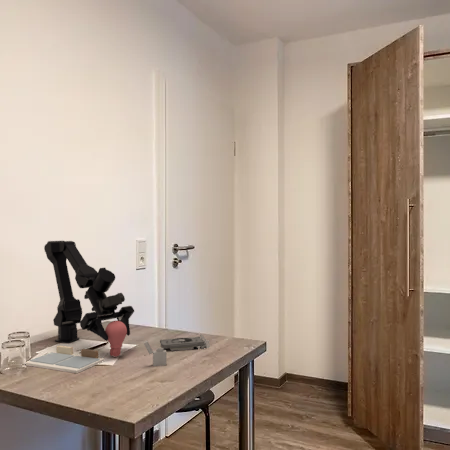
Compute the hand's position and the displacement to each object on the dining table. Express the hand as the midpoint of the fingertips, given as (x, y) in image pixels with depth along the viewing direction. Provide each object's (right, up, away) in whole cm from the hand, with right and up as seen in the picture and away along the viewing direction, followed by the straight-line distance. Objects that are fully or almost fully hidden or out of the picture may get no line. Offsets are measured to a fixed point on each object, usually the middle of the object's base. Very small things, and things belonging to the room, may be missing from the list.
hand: (118, 337), depth 151 cm
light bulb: (-1, -7, +1) cm, 7 cm away
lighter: (+13, -7, -8) cm, 17 cm away
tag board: (-16, -7, -6) cm, 18 cm away
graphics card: (+21, -7, +13) cm, 25 cm away
